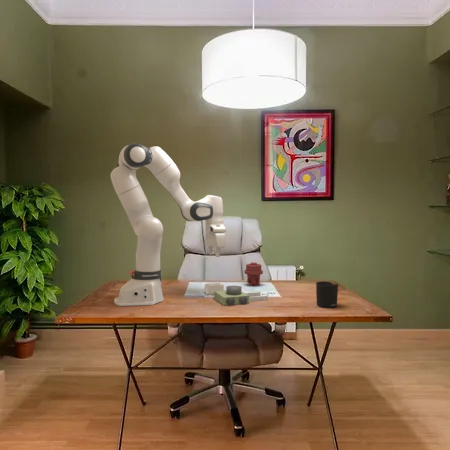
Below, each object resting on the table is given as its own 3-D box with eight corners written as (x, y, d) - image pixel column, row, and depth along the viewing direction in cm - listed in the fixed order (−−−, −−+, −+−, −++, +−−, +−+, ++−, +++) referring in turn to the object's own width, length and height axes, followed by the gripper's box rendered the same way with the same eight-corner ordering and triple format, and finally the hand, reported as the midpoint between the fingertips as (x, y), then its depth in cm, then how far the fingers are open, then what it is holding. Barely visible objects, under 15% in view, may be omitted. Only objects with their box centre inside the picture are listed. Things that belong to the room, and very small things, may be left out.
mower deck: (224, 306, 179) (224, 291, 179) (214, 298, 194) (214, 284, 193) (271, 302, 187) (271, 288, 186) (257, 294, 201) (257, 281, 201)
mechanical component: (244, 283, 230) (262, 283, 229) (243, 286, 220) (262, 287, 219) (245, 261, 229) (262, 261, 228) (244, 264, 219) (262, 264, 218)
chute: (208, 295, 199) (208, 285, 199) (204, 293, 204) (204, 283, 204) (223, 294, 202) (223, 284, 201) (219, 292, 207) (220, 282, 207)
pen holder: (316, 308, 177) (317, 285, 176) (315, 302, 186) (315, 281, 185) (339, 308, 175) (339, 285, 175) (336, 303, 185) (336, 281, 184)
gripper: (202, 226, 210) (202, 253, 211) (214, 229, 191) (214, 258, 191) (213, 226, 212) (213, 252, 213) (227, 228, 193) (227, 257, 194)
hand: (214, 255), depth 202 cm, fingers open, 8 cm apart
